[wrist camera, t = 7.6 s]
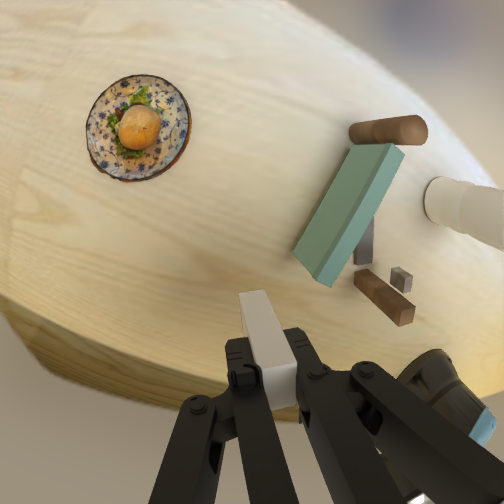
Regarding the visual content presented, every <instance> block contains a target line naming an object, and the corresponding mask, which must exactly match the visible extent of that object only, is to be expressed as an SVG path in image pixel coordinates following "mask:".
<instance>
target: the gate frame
mask: <svg viewBox="0 0 504 504" xmlns="http://www.w3.org/2000/svg"><path fill="white" fill-rule="evenodd" d="M349 136H350V139H351V140H352V142H353V143H355V144H356V145H376V144H386V143H393V144H394V145H423V144H424V143H425V142H426V140H427V137H428V128H427V125H426V123H425V121H424V120H423V119H422V118H421V117H420V116H418V115H410V116H401V117H393V118H386V119H379V120H372V121H366V122H360V123H355V124H353V125H352V126H351V127H350V130H349ZM373 230H374V216H373V218H372V219H371V221H370V223H369V225H368V226H367V228H366V230H365V232H364V234H363V235H362V237H361V239H360V240H359V242H358V244H357V246H356V247H355V249H354V264H355V265H362V264H368V263H372V257H373ZM412 279H413V276H412V275H410V274H409V273H407V272H406V271H404V270H403V269H401V268H400V267H396V268H391V277H390V284H391V285H393V286H394V287H395V288H397V289H398V290H399V291H401V292H402V293H407V292H410V291H411V286H412ZM354 285H355V286H356V287H357V288H358V289H359V290H360V291H361V292H362V293H364V294H365V295H366V296H367V297H368V298H369V299H370V300H371V301H372V302H373V303H374V304H375V305H376V306H377V307H378V308H379V309H381V310H382V311H383V312H384V313H385V314H386V315H387V316H388V317H389V318H390V319H391V320H392V321H393V322H394V323H395V324H396V325H397V326H398V327H400V326H403V325H406V324H409V323H412V322H413V318H414V313H415V307H416V306H414V305H413V304H412V303H411V302H409V301H408V300H407V299H406V298H404V297H403V296H402V295H401V294H399V293H398V292H397V291H395V290H394V289H393V288H392V287H390V286H389V285H388V284H387V283H385V282H384V281H383V280H381V279H380V278H379V277H377V276H376V275H375V274H373V273H372V272H371V271H370V270H368V269H365V270H360V271H355V282H354Z"/></svg>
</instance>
